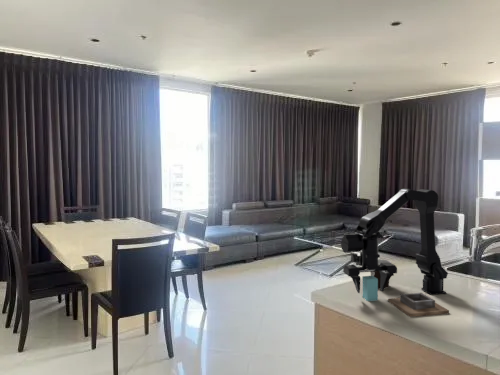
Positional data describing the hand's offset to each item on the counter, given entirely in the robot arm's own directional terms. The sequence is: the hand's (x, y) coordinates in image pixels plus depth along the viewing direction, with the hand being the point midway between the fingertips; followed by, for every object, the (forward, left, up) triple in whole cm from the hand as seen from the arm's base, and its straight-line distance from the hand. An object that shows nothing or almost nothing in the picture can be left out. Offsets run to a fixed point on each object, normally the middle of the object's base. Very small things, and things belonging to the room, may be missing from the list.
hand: (370, 291), depth 140 cm
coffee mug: (-11, -14, -3) cm, 18 cm away
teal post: (0, 0, -3) cm, 3 cm away
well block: (-12, +11, -2) cm, 16 cm away
